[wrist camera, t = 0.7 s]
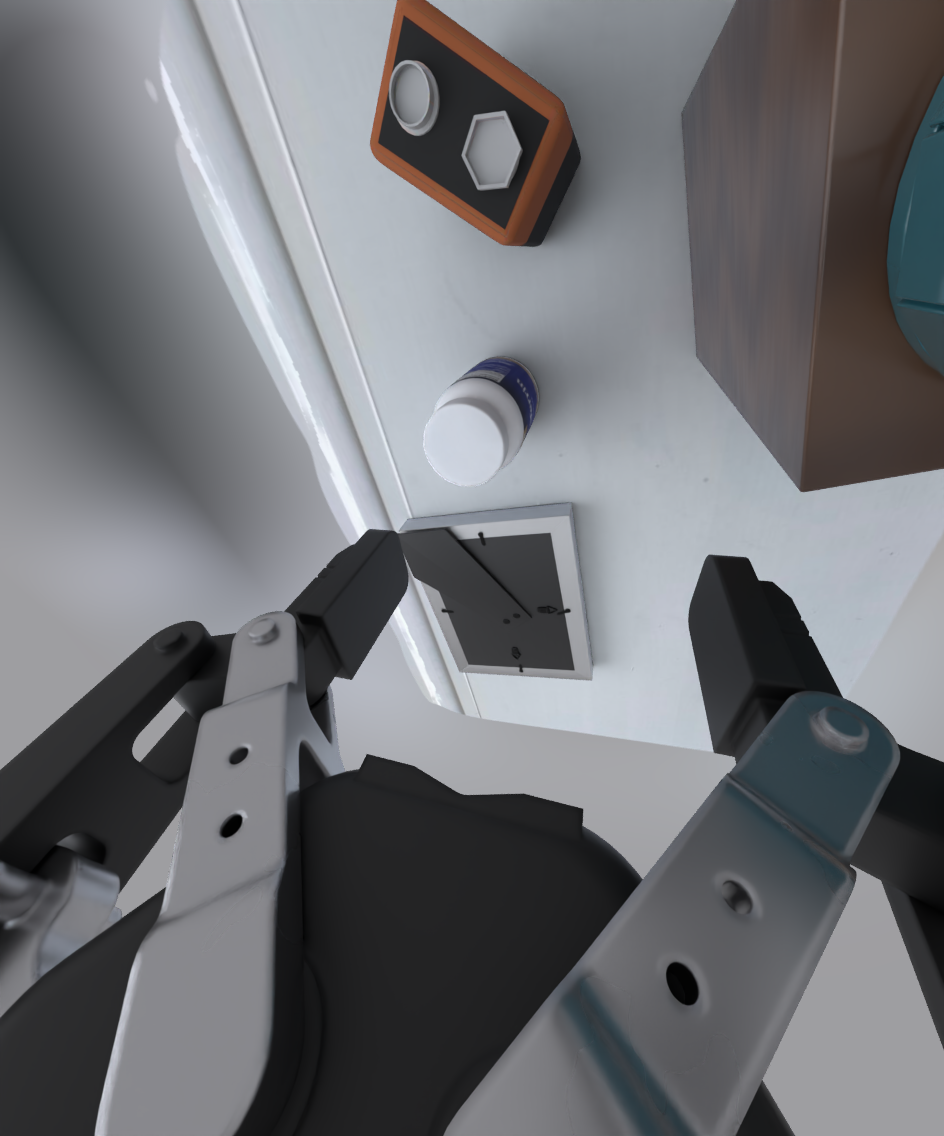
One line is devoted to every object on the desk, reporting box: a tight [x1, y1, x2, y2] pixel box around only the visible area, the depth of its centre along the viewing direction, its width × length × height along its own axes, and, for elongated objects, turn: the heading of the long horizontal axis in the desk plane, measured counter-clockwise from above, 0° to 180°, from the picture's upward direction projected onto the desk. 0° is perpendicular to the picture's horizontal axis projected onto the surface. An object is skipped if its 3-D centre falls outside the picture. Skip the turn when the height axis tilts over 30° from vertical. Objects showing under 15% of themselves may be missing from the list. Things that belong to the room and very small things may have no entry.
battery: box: [370, 0, 581, 247], centre depth 17 cm, size 4×7×10 cm, turn 64°
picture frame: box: [398, 503, 593, 680], centre depth 40 cm, size 16×3×21 cm
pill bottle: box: [423, 357, 539, 487], centre depth 25 cm, size 6×6×10 cm
